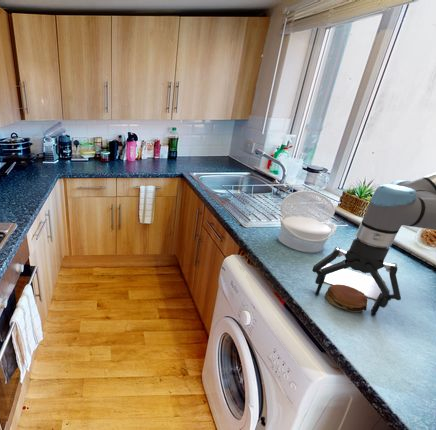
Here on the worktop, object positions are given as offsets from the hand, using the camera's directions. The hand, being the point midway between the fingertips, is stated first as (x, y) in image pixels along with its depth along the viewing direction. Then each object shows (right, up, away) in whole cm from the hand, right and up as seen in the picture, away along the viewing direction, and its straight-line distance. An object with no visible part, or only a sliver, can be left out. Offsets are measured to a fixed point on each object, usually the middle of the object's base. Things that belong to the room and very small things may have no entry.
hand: (343, 302), depth 86 cm
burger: (0, 0, 0) cm, 0 cm away
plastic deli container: (+8, +15, +34) cm, 38 cm away
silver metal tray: (+10, +4, +10) cm, 15 cm away
